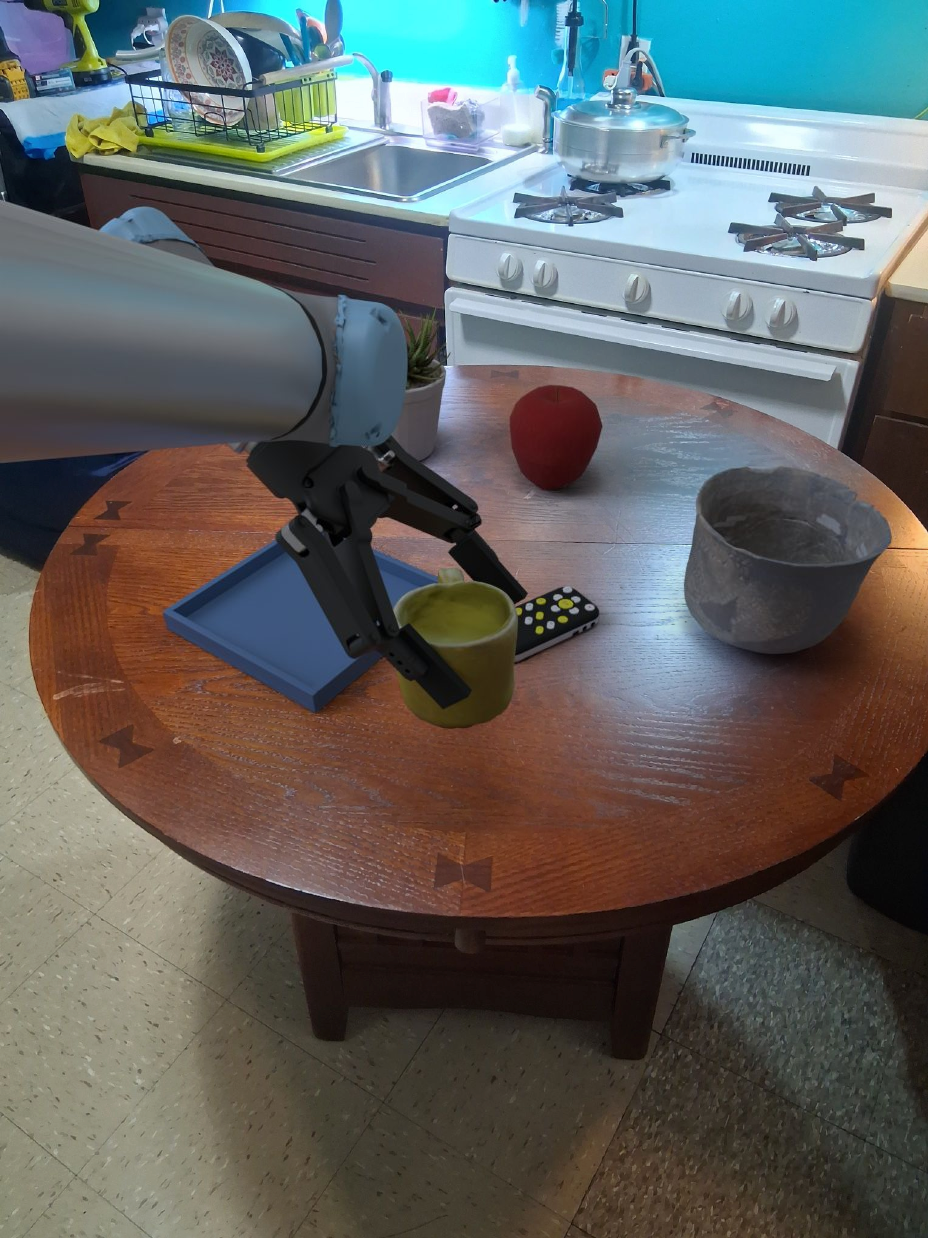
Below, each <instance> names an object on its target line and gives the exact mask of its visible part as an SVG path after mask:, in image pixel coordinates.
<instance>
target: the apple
mask: <svg viewBox="0 0 928 1238" xmlns="http://www.w3.org/2000/svg"><path fill="white" fill-rule="evenodd" d="M602 430H603V422H602V419H601V416H600V412H599V410H598V406H597V404H596V403H595V402H594V401H593V400H592V399H591V398H589V397H588V396H587V395H586V394H585V393H584V392H583V391H582V390H580V389H577V388H575V387H573V386H567V385H561V384H547V385H543V386H538V387H536V388H534V389H531V390H530V391H529V392H527V393H526V394H524V395H522V396H521V397H520V398H519V399H518V401H516V403H515V404H514V406H513V409H512V410H511V413H510V415H509V433H510V445H511V450H512V453H513V456H514V458H515V461H516V463H517V466H518V468H519V471H520V473H521V474H522V475H523V477H524V478H525V479H526V480H527V481H529V482H530V483H532V485H534V486H535V487H537V488H538V489H540V490H545V491H555V490H559V489H563V488H564V487H566V486H568V485H570V484H573V483H574V482H576V481H577V480H579V479H580V478H581V477H582V476H583V475H584V474H585V472H586V470H587V468H588V466H589V465H590V462H591V460H592V458H593V457H594V455H595V452H596V450H597V449H598V444H599V441H600V438H601V433H602Z"/></svg>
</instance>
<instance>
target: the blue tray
mask: <svg viewBox="0 0 928 1238" xmlns="http://www.w3.org/2000/svg"><path fill="white" fill-rule="evenodd" d="M322 535H323V536H324V534H323V532H322ZM343 539H344V540H345V538H343ZM372 550H373V553H374V556H375V559H376V562H377V565H378V567H379V570H380V573H381V576H382V579H383V582H384V585H385V588H386V591H387V594H388V596H389V599H390V602H391V605H392V608H394V606H395V605H396V603H397V602H398V601H399V599H400V598H401V597H402V596H404V595H405V594H406V593H408V592H410V591H412V590H415V589H417V588H420V587H424V586H427V585H429V584H433V583H438V575H434V574H432V573H430V572H427V571H425V570H423V569H421V568H418V567H416V566H414V565H411V564H409V563H406V562H405V561H402V560H400V559H398V558H396V557H393V556H390V555H388V554H386V553H383V552H381V551H379V550H376V549H375V548H372ZM161 612H162V616H163V620H164V623H165V626H166V629H167V630H168V631H170V632H172V633H173V634H175V635H178V636H179V637H180V638H183V639H185V640H186V641H188V642H190V644H193V645H194V646H196V647H198V648H200V649H202V650H204V651H205V652H207V653H209V654H210V655H212V656H214V657H216V658H217V659H220V660H221V661H223V662H224V663H226V664H228V665H229V666H232V667H233V668H235V669H237V670H239V671H240V672H242V673H244V674H246V675H247V676H249V677H251V678H252V679H254V680H256V681H258V682H259V683H262V684H263V685H265V686H267V687H268V688H270V689H272V690H274V691H276V692H277V693H278V694H281V695H282V696H284V697H286V698H288V699H289V700H291V701H293V702H295V703H296V704H298V705H300V706H302V707H304V708H305V709H307V710H309V711H310V712H312V713H314V714H317V713H318V712H320V711H321V710H322V709H323V708H324V707H325V706H326V705H328V704H329V703H330V702H331V701H332V700H333V699H335V698H336V697H337V696H338V695H340V694H341V693H342V692H344V690H346V689H347V688H348V687H349V686H350V685H352V684H353V683H354V682H355V681H357V679H359V678H360V677H361V676H362V675H363V674H364V673H366V672H367V671H368V670H370V668H372V667H373V666H374V665H375V664H376V663H377V662H379V661H380V660H382V658H384V656H383V655H382V654H381V653H380V652H378V651H375V650H373V651H372V652H370V653H366V654H364V655H362V656H360V657H358V658H357V659H352V658H350V657H349V656H348V655H347V654H346V652H345V650H344V648H343V647H342V645H341V643H340V641H339V639H338V638H337V636H336V634H335V632H334V630H333V629H332V627H331V625H330V623H329V621H328V619H327V618H326V616H325V614H324V612H323V610H322V609H321V607H320V605H319V603H318V601H317V599H316V598H315V596H314V594H313V592H312V590H311V589H310V587H309V585H308V583H307V581H306V579H305V578H304V576H303V574H302V572H301V570H300V569H299V567H298V565H297V563H296V562H295V561H294V560H293V559H292V558H291V557H290V556H289V555H288V554H287V552H286V551H285V550H284V549H283V548H282V547H281V546H280V545H279V544H278V543H277V541H276V538H275V539H274V540H272V541H270V542H269V543H267V544H266V545H264V546H262V547H260V548H259V549H258V550H256V551H255V552H253V553H252V554H250V555H249V556H247V557H246V558H244V559H242V560H241V561H239V562H238V563H236V564H235V565H233V566H231V567H230V568H228V569H227V570H225V571H223V572H222V573H220V574H219V575H217V576H215V577H214V578H213V579H211V580H209V581H208V582H206V583H204V584H203V585H202V586H199V587H198V588H197V589H195V590H193V591H192V592H190V593H189V594H187V595H186V596H183V597H182V598H181V599H179V600H178V601H176V602H175V603H172V604H171V605H170V606H168V607H167V608H165V609H163V610H162V611H161ZM377 625H379V622H378V621H377ZM357 636H359V635H358V634H357Z"/></svg>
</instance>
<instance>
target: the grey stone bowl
mask: <svg viewBox="0 0 928 1238" xmlns="http://www.w3.org/2000/svg"><path fill="white" fill-rule="evenodd" d="M858 494H859V492H857V491H855V490H852V489H850V487H849V486H848V485H846V484H844V483H842V482H840V481H838V480H836V479H833V478H830V477H827V476H823V475H820V474H818V473H816V472H813V471H809V470H804V469H798V468H796V467H790V466H783V465H782V466H775V467H771V468H770V467H769V468H756V467H755V468H752V467H749V466H747V465H745V466H741V467H732V468H728V469H725V470H723V471H719V472H717V473H715V474H714V475H711V477H709V478H708V479H706V480H705V481H704V483H703V484H702V485H701V487H700V489H699V491H698V493H697V496H696V499H695V513H696V515H695V524H694V527H693V534H692V539H691V541H692V542H691V547H690V551H689V555H688V560H687V562H686V567H685V572H684V583H683V595H684V601H685V605H686V607H687V609H688V612H689V613H690V616H691V617H692V618H693V619H694V620H695V622H696V623H697V624H698V625H699V627H700V628H701V629H702V630H703V631H704V632H705V633H707V634H709V635H711V636H712V637H714V638H716V639H717V640H719V641H721V642H722V643H725V644H727V645H731V646H733V647H736V648H739V649H742V650H746V651H751V652H755V653H759V654H768V655H779V654H780V655H781V654H792V653H795V652H799V651H803V650H805V649H809V648H811V647H814V646H816V645H818V644H819V643H821V642H823V640H825V639H826V638H827V637H828V636H830V635H831V634H832V633H833V632H834V631H835V630H836V628H838V626H839V625H840V624H841V623H842V622H843V621H844V619H846V616H847V614H848V613H849V611H850V609H851V607H852V605H853V603H854V602H855V600H856V598H857V595H858V593H859V591H860V588H861V585H862V584H863V582H864V581H865V579H866V577H867V576H868V574H869V572H870V570H871V568H872V566H873V565H874V564H875V562H876V560H877V559H878V558H879V557H880V556H881V555H882V554H883V553H884V552H886V550H887V549H888V548H889V547H890V545H891V543H892V539H893V536H892V529H891V527H890V524H889V522H888V520H887V518H886V517H885V516H883V515H882V512H881V511H880V510H878V509H876V508H875V505H874V504H871V503H869V502H868V501H866V500H864V499H859V500H857V498H858V497H857V496H858Z"/></svg>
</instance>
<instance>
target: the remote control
mask: <svg viewBox="0 0 928 1238" xmlns="http://www.w3.org/2000/svg"><path fill="white" fill-rule="evenodd" d="M515 608H516V611H517V616H518V630H517V641H516V651H515V660H514V663H517V662H520V661H521V660H524V659H526V658H528V657H531V656H533V655H535V654H537V653H539V652H541V651H543V650H545V649H547V648H550V647H551V646H555V645H556V644H559V643H560V642H563V641H565V640H567V639H569V638H571V637H573V636H575V635H578V634H579V633H582V632H585V631H586V630H588V629H591V628H593V627H595V626H596V625H597V624H598V622H599V619H600V609H599V607H598V606H597V605H596V604H595V603H593V602H592V600H590V599H589V598H587V597H586V596H585V595H583V594H582V593H581V592H579V591H578V590H577V589H576V588H574V587H570V586H560V587H557V588H555V589H552V590H551V591H548V592H546V593H544V594H541V595H539V596H537V597H534V598H532V599H529V600H527V601H525V602H523V603H521V604H518V605H515Z"/></svg>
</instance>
